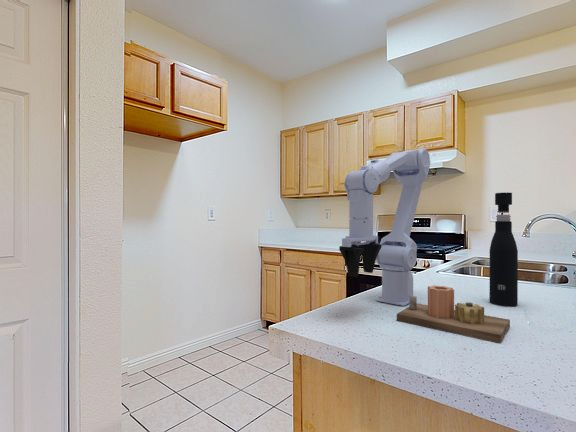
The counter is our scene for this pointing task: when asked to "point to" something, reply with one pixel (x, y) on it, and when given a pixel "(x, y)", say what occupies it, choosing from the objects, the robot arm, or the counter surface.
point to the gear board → (458, 320)
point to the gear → (441, 301)
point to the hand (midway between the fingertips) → (361, 274)
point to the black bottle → (503, 257)
